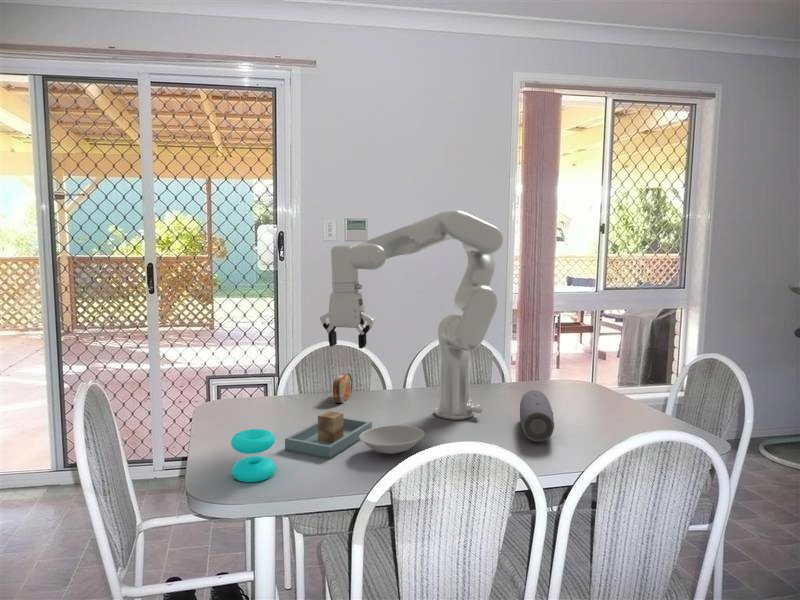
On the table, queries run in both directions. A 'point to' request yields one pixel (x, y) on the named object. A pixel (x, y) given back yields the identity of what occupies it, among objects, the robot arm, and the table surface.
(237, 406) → the table surface
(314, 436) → the tray
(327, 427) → the block
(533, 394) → the bluetooth speaker
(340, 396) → the tin
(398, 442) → the dish
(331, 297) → the robot arm
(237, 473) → the donuts
